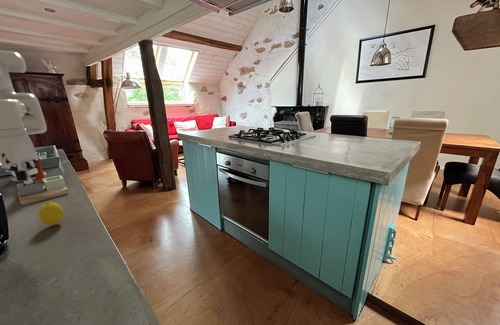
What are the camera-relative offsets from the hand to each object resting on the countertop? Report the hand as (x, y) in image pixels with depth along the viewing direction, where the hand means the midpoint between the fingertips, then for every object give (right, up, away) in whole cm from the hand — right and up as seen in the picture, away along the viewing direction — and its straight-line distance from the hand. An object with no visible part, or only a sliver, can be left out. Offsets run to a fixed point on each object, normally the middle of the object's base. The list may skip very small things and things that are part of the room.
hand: (27, 178), depth 86 cm
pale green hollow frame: (+5, -4, +7) cm, 10 cm away
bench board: (+2, -7, +5) cm, 9 cm away
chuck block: (0, -6, +2) cm, 6 cm away
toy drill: (-10, -4, +16) cm, 20 cm away
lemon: (+28, -14, -18) cm, 36 cm away
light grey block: (0, -6, +2) cm, 6 cm away
